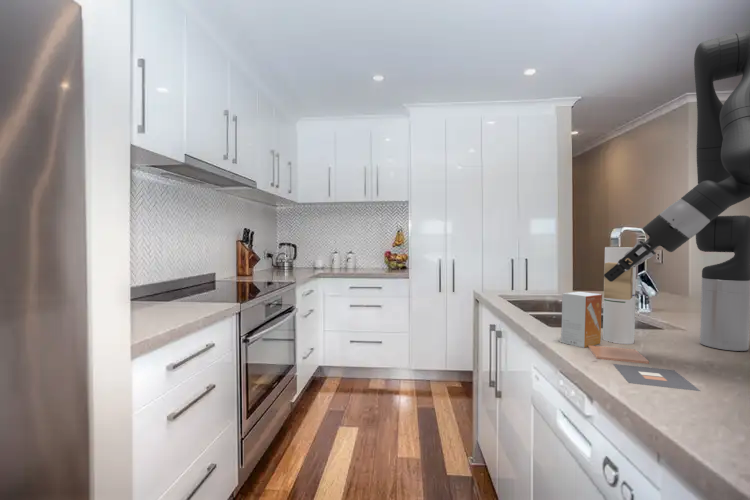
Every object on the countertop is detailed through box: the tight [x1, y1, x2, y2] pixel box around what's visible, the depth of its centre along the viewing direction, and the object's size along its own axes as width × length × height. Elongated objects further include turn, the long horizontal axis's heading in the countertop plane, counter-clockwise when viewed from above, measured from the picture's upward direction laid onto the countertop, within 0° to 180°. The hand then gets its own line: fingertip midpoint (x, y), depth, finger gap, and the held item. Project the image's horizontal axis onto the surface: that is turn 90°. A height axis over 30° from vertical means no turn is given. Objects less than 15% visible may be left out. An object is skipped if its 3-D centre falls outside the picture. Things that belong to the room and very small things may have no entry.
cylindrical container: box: [602, 246, 637, 345], centre depth 103 cm, size 7×7×25 cm
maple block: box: [603, 262, 633, 300], centre depth 90 cm, size 5×5×8 cm
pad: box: [587, 345, 650, 365], centre depth 90 cm, size 10×10×1 cm
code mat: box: [612, 363, 701, 392], centre depth 76 cm, size 12×11×1 cm
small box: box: [560, 291, 603, 348], centre depth 100 cm, size 8×6×13 cm
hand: (609, 277), depth 91 cm, fingers closed on maple block, 5 cm apart
